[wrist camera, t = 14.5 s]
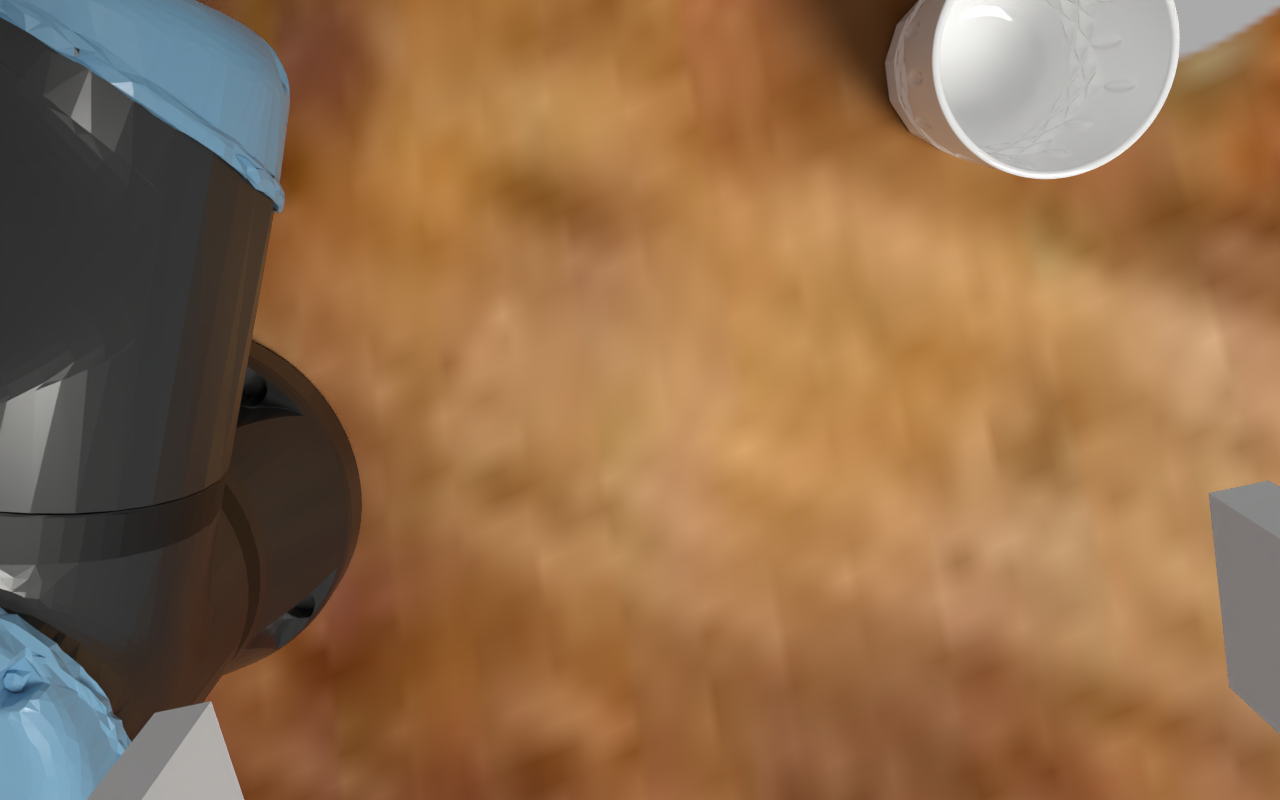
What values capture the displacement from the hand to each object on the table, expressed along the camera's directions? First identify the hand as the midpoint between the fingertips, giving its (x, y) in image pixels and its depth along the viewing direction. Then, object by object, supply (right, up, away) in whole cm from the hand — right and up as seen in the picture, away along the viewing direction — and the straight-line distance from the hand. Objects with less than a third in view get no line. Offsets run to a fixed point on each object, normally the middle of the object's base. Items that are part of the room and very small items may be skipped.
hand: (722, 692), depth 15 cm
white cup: (+12, +17, +32) cm, 38 cm away
